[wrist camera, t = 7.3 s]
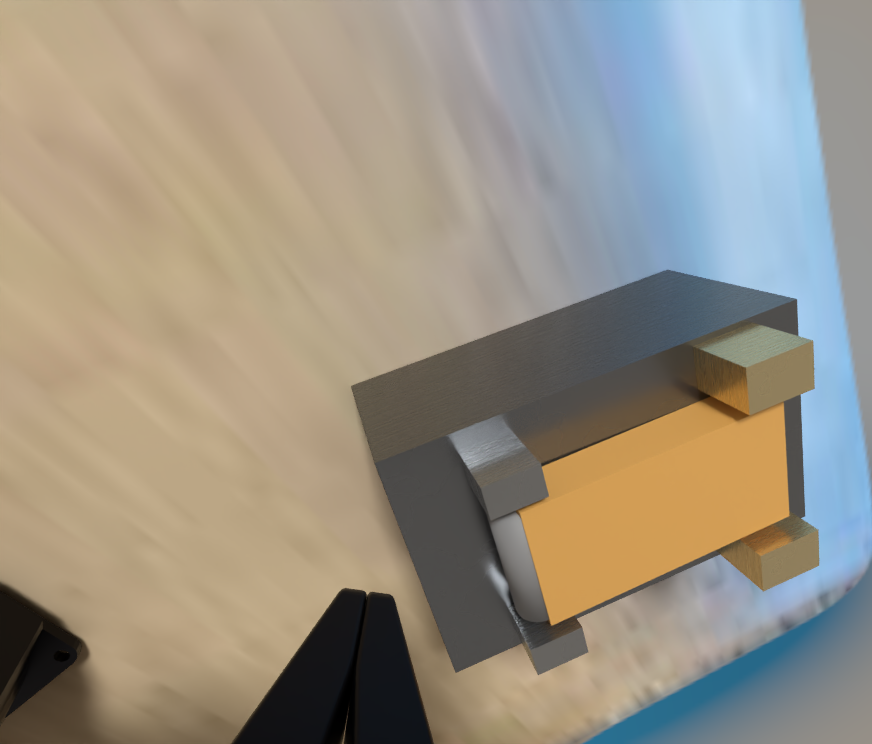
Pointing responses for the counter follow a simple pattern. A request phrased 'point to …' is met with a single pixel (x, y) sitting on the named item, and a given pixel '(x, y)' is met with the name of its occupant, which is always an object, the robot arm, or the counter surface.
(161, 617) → the counter surface
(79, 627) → the counter surface
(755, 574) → the grey block with pegs
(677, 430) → the tan rectangular box
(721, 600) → the counter surface
